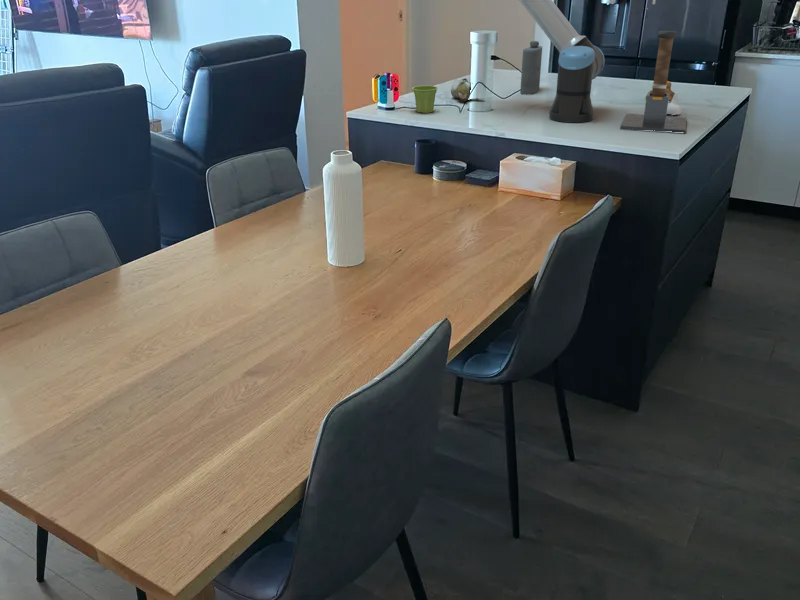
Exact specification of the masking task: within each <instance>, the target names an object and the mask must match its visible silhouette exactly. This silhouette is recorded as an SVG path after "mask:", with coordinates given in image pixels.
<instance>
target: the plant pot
mask: <svg viewBox="0 0 800 600" xmlns="http://www.w3.org/2000/svg"><path fill="white" fill-rule="evenodd" d="M411 89H412V90H413V94H414V98H415V106H416V107H415V108H416V112H417V113H422V114H427V113H428V114H430V113H432V112H434V108H435V100H436V95H437V90H438V89H439V87H437V86H434V85H418V86H417V85H416V86H413V87H411Z"/></svg>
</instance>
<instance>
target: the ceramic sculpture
mask: <svg viewBox="0 0 800 600" xmlns="http://www.w3.org/2000/svg"><path fill="white" fill-rule="evenodd" d="M471 83H472V82H469V80H468V79H467V78H462V79H461V80H459V79H457V78H455V79H454V80H453V82H452V84H451V88H450V94H451V96H452V98H453V99H459V100H460V101H461V102H466V101H467V100H468V98H469V95H470V90H471ZM467 102H468V101H467Z"/></svg>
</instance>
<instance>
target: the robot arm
mask: <svg viewBox="0 0 800 600" xmlns="http://www.w3.org/2000/svg"><path fill="white" fill-rule="evenodd" d="M518 1H519V3H521V5H522V6H523V7H524V8H525V10H526V11H527V13H528V14H529V15H530V16H531V17H532V19H533V20H534V21H535V23H536V24H537V25H538V26H539V28H540V29H541V30H542V31H543V33H544V35H546V37H547V38H548V40H549V41H550V42H551V43H552V44H553V46H554V47H555V48H556V49H557V50H558V53H559V56H558V68H557V69H558V70H557V79H556V80H557V81H556V92H555V93H556V94H555V97H554V99H553V102H552V103H551V104H552V105H551V108H550V109H549V115H548V118H549V119H550V120H553V121H556V122H562V123H585V122H591V121H592V120H594V109H593V108H594V107H593V104H592V98H591V91H592V82H593V80H594V79H596V78H597V77H598V76H599V75H600V74H601V72H602V71H603V70H604V67H605V60H606V58H605V55H604V52H603V51H602V50H601V49H600V48H599V47H598V46H596V45H593V43H592V42H591V41H590V40H589V39H588V37H587V36H586V35H580V34H579V33H578V32H577V31H576V29H575V28H574V26H572V24H571V23H570V21H569V20H568V19H567V18H566V16H565V15H564V14H563V12H562V11H561V10H560V8H558V6H557V5H556V4H555V2H554V1H553V0H518ZM614 1H615V0H610V3H609V4H610V5H612V4H614ZM651 3H652V4H651V5H656V0H652V2H651Z"/></svg>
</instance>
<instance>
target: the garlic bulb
mask: <svg viewBox="0 0 800 600" xmlns="http://www.w3.org/2000/svg"><path fill="white" fill-rule="evenodd" d="M674 93H675V94H674V97H673V99H672V101H671V102H669V103H668V107H667V113H666V115H667V114H674V115H676V114H680V115H681V114H682V108H681V105H680V104H679V103H678V96H679V92H677V91H676V92H674Z"/></svg>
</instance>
